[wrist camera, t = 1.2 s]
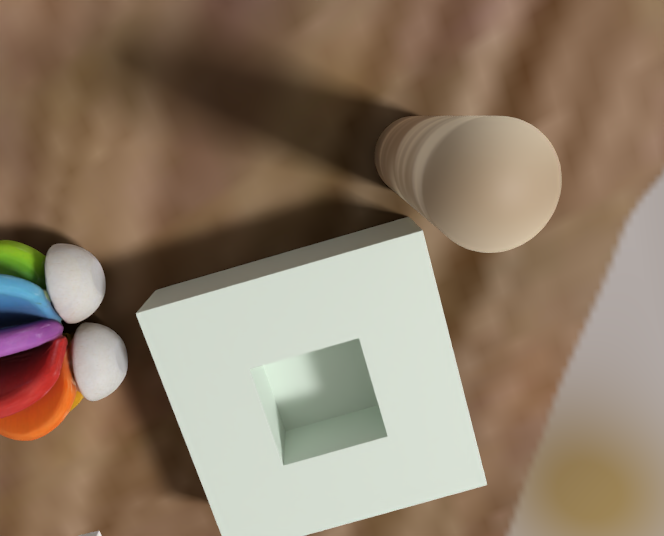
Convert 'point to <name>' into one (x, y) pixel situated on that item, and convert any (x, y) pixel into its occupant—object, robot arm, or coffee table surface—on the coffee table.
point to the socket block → (316, 384)
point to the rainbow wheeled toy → (52, 338)
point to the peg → (473, 176)
